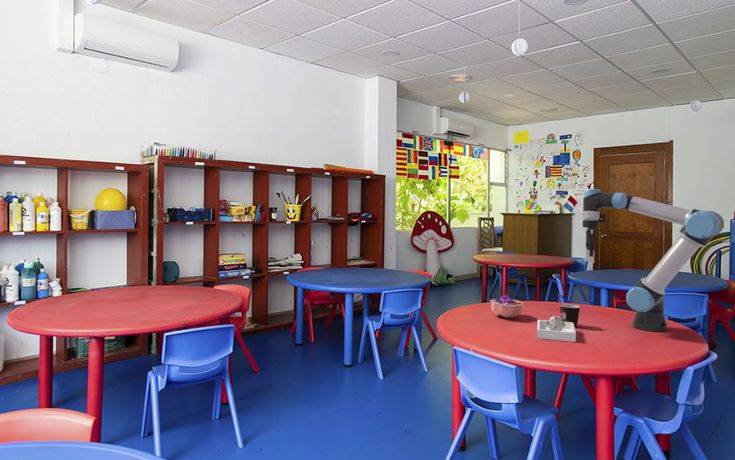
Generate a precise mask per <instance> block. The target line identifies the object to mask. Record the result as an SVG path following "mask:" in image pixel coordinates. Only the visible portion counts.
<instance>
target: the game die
mask: <svg viewBox="0 0 735 460" xmlns="http://www.w3.org/2000/svg"><path fill="white" fill-rule="evenodd" d="M547 321H548V322H546V323H547V324H548V325H549V328H550V330H553V331H562V329H563V327H564V326H566V325H565V323H563V319H562V315H561V316H556V315H555V316H554V315H552V314H550V317H549V319H548V320H547Z"/></svg>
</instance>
